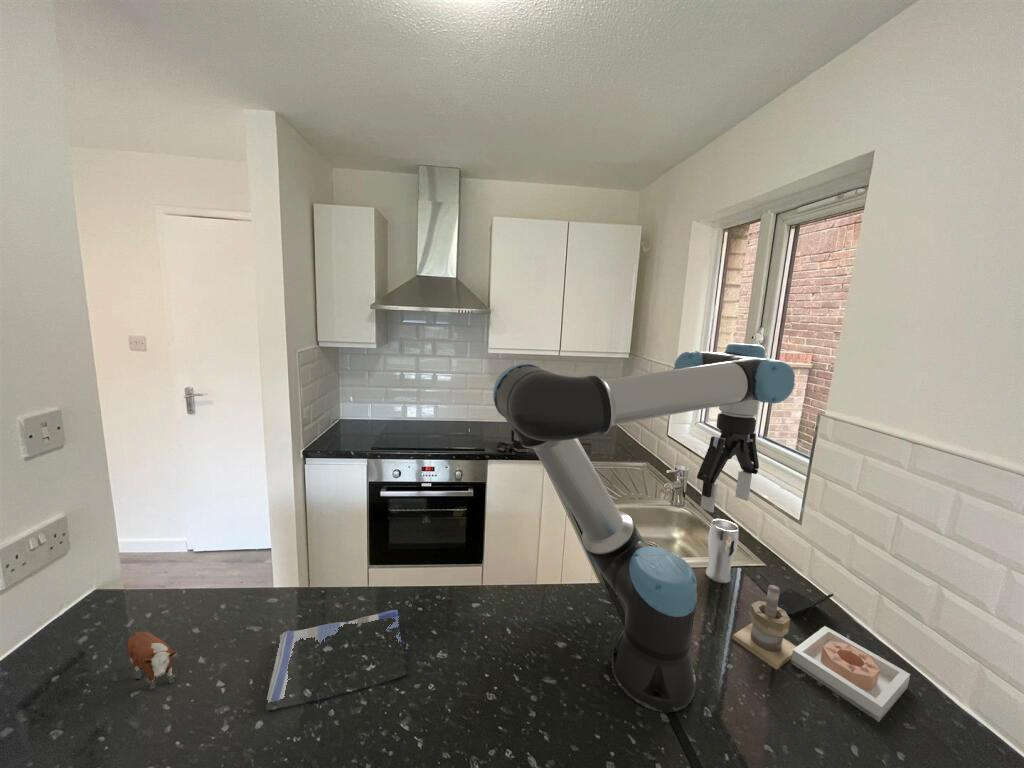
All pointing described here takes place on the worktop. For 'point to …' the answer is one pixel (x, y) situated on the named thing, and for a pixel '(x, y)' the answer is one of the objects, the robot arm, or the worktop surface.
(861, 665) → the terracotta ring
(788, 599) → the handheld gaming console
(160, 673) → the bull figurine
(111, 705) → the worktop surface
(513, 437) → the milk frother
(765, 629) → the oak ring
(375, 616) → the dish towel
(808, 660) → the tray
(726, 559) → the silver metal tumbler
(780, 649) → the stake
